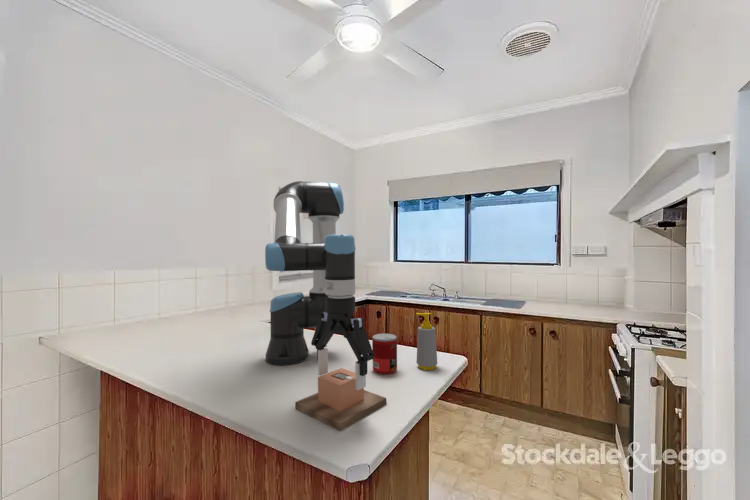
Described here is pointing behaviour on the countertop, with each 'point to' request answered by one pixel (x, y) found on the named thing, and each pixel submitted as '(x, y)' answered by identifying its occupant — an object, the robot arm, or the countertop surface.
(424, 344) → the soap bottle
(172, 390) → the countertop surface
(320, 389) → the orange open box
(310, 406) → the base plate
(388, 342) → the canned food
